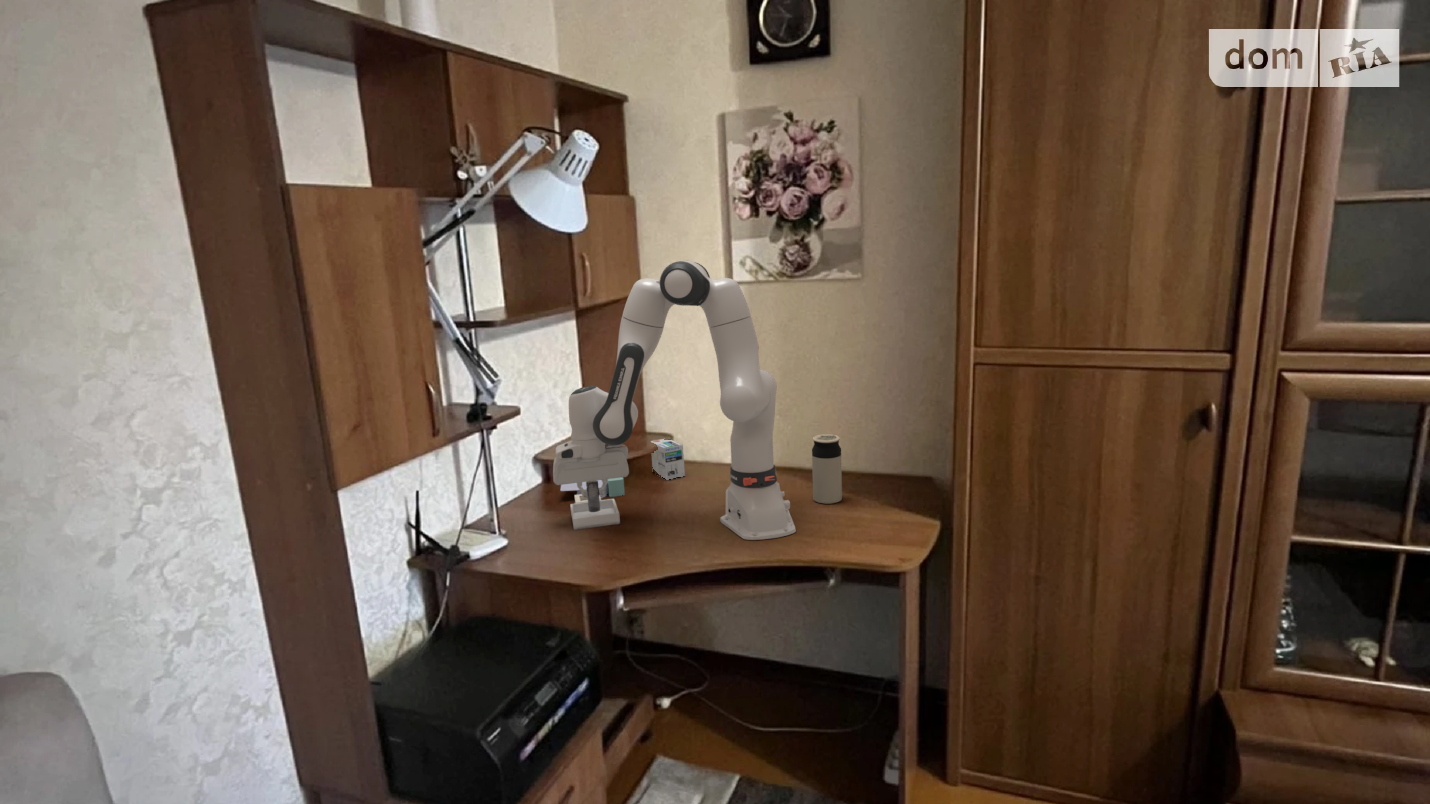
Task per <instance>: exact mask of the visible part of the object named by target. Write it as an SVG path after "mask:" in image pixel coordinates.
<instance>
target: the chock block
mask: <svg viewBox="0 0 1430 804" xmlns="http://www.w3.org/2000/svg"><path fill="white" fill-rule="evenodd" d="M607 482H608V483H607V491H608V496H609V498H612V497H613V498H615V497H620V496H622V495H623V496H626V495H625V493H626V492H625V491H626V490H625V480H624V477H620V478H612V479H607Z"/></svg>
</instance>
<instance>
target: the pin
mask: <svg viewBox="0 0 1430 804" xmlns="http://www.w3.org/2000/svg"><path fill="white" fill-rule="evenodd" d="M586 487H587V493H588V494H587V495H588V497H587V498H588V509H589V512H598V511H600V498H599V487H598V481H588V482H586Z"/></svg>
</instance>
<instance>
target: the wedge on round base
mask: <svg viewBox="0 0 1430 804" xmlns="http://www.w3.org/2000/svg"><path fill="white" fill-rule="evenodd" d="M596 481H598V487H599V488H601V486H602V484H603V483H602V480H596ZM582 488H583V489H584V490H585V489H587V487H586V482H582ZM566 491H567V492H568V491H576V495H579V494H582V492H581V491H580V489H579V488H578V487H577V483H571V484H563V485H560V492H566ZM607 494H608V485H606V487H605V489H604V495H600V498H601V499H603V498H605V497H607V496H608V495H609V494H608V495H607Z"/></svg>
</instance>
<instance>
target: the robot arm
mask: <svg viewBox="0 0 1430 804" xmlns="http://www.w3.org/2000/svg"><path fill="white" fill-rule="evenodd" d="M710 276H711V275H710V273H709V272H708V270H707V269H706V267H704V266H703V265H702V264H701V263H698V262H695V261H692V260H685V259H683V260H677V261H675V262H672V263H670V264H669V265H667V266H666V267H665V268H664V269H663V271H662V272H661V275H660V278H659V279H656V278H652V277H651V278H650V277H648V278H647V277H646V278H640V279H639V280H637V281H635V282H634V284H633V286H632V288H631V290H630V292H629V294H628V297H627V299H626V302H625V305H624V309H623V311H622V316H621V319H620V324H619V329H618V340H617V341H618V342H617V354H616V364H615V368H614V373H613V375H612V380H611V382H610V386H609V390H608V392H607V391H604V390H603V389H600V388H599V387H598V386H596V385H587V386H582V387H579V388H577V389H575V390H573V391H572V392H571V394H570V395H569V396H568V397H569V398H568V419H569V424H570V427H571V434H570V440H569V441H566V442H564V443H562V444H559V445H557V446H556V447H555V451H554V453H555V457H554V459H553V466H552V477H553V479H552V480H553V481H552V482H553V484H555V485H556V486H561V485H563V484H571V483H577V487H578V488H579V489H580V491H581V492H582V498H584V497H588V495H587V494H588V493H587V489H585V490H584V489H583V488H582V482H588V481H596V480H602V483H603V484H602V486H601V488H599V496H600V495H604V489H605V487H606V485H607V483H608V482H607V479H612V478H620V477H623V478H626V477H628V475H629V474H630V469H629V464H628V460H627V458H628V457H629V448H628V446H627V445H625V444H624V443H626V441H628V440H629V438H631V435H632V434H633V429H634V427H635V425H636V423H637V421H638V418H639V408H638V406H637V404H636V403H635V401H633V400H634V397H635V392H636V390H637V385H638V382H639V379H640V376H641V373H642V371H643V370H644V367H645V366H646V365H647V363H648V361H649V360H650V359H651V357H652V355H654V352H655V351H656V349H657V347H658V344H659V342H660V340H661V338H662V334H663V332H664V327H665V323H666V319H667V317H668V313H669V311H670V310H671V308H672V307H673V306H675V305H677V306H681V307H682V306H685V307H686V306H690V307H691V306H693V307H700V308H701V309H702V311H703V312H704V315H705V318H706V321H707V326H708V328H709V333H710V336H711V341H712V343H713V348H714V351H715V355H716V362H717V368H718V372H717V373H718V381H719V389H720V400H719V406H720V409H721V411H722V413H723V415H724V416H725V417H726V418H727V419H729V420H730V421H733V422H732V430H731V434H730V440H729V441H730V461H731V466H730V469H729V476H730V477H729V478H730V479H729V480H730V485H729V486H728V487H727V489H726V490H725V514H724V515H722V516H720V517H719V519H720V520H719V521H720V523H721V524H722V525H723V526H725V527H727V528H728V529H729V530H731V531H732V532H733V533H735V535H737V536H739V537H740V538H741V539H743V540H748V541H749V540H751V541H756V540H761V541H762V540H769V539H776V538H777V539H778V538H783V537H785V536H790V535H792V534H794V533H796V532H797V530H796V525H795V523H794V520H793V518H792V515H791V512H790V509H791V502H790V500H789V499H784V498H783V497H785V496H786V495H785V491H784V490H783V491H781V488H780V483H779V482H778V477H777V470H776V465H775V463H774V437H773V436H774V427H775V416H776V400H777V399H776V398H777V397H776V396H777V390H778V389H777V387H778V386H777V382H776V379H775V377H774V376H773V375H772V374H771V372H768V371H767V370H765V369H761V367H760V359H759V358H760V357H759V356H760V355H759V353H760V352H759V350H760V348H759V342H758V337H757V335H756V331H755V326H754V323H753V319H752V315H751V312H750V308H749V305H748V303H747V299H746V297H745V295H744V292H743V290H742V288H741V286H740V285H739V283H738V281H736V280H735V279H733V278H730V277H729V278H728V277H720V278H714V279H712V278H711V277H710ZM607 486H608V485H607Z"/></svg>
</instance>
